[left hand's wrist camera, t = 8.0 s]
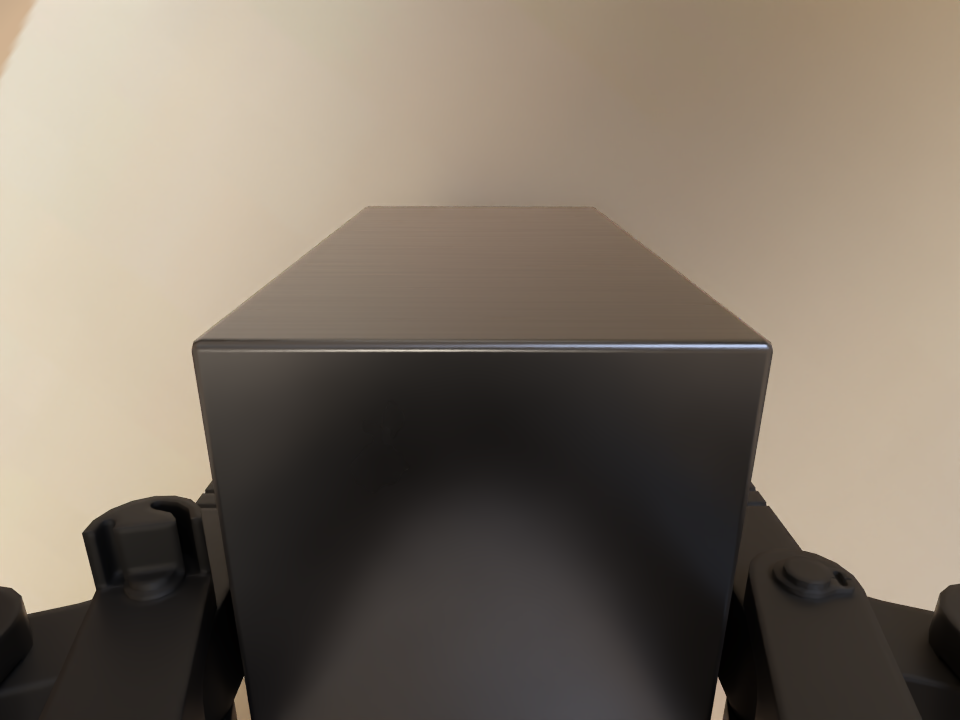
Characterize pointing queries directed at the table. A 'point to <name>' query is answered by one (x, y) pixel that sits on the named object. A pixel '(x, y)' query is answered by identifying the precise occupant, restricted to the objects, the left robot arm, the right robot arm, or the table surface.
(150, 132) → the table surface
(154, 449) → the table surface
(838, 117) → the table surface
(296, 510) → the bar
